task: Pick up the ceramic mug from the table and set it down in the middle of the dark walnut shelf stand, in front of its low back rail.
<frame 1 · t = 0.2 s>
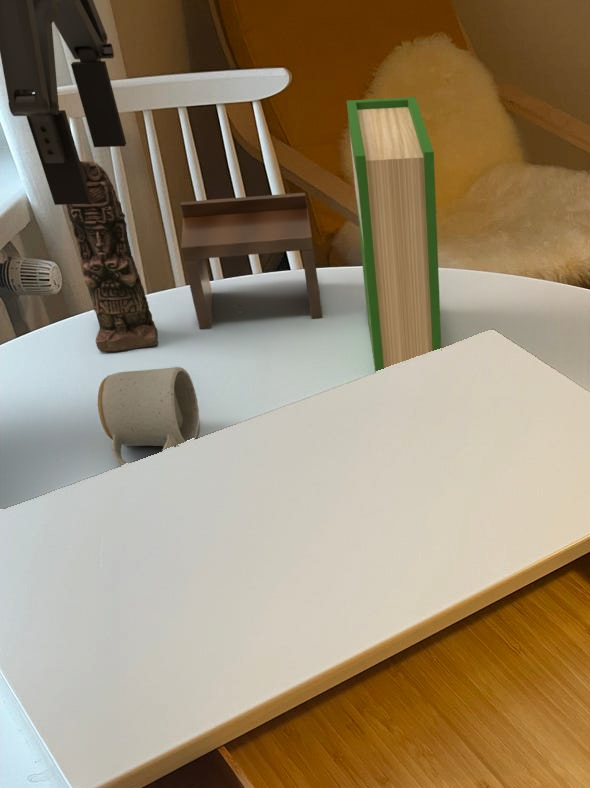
hand: (93, 172, 79), 26 cm above the table, tool pointing down, fingers open, 13 cm apart
shelf: (260, 305, 119), on the table
hardback book: (403, 346, 112), on the table
ceramic mug: (158, 448, 97), on the table
statue: (129, 338, 114), on the table
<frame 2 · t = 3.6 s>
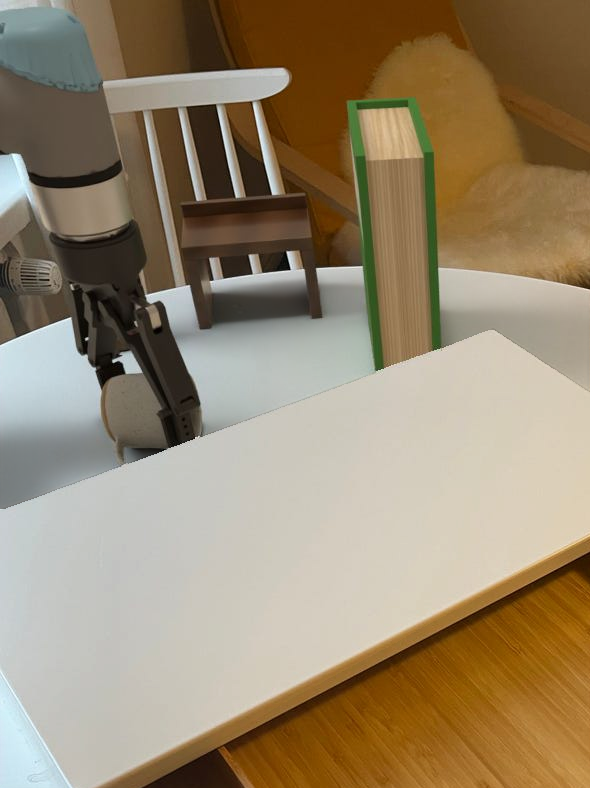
hand: (156, 442, 97), 0 cm above the table, tool pointing down, fingers closed on ceramic mug, 10 cm apart
ceramic mug: (161, 451, 97), on the table, touching gripper
everything else where it was.
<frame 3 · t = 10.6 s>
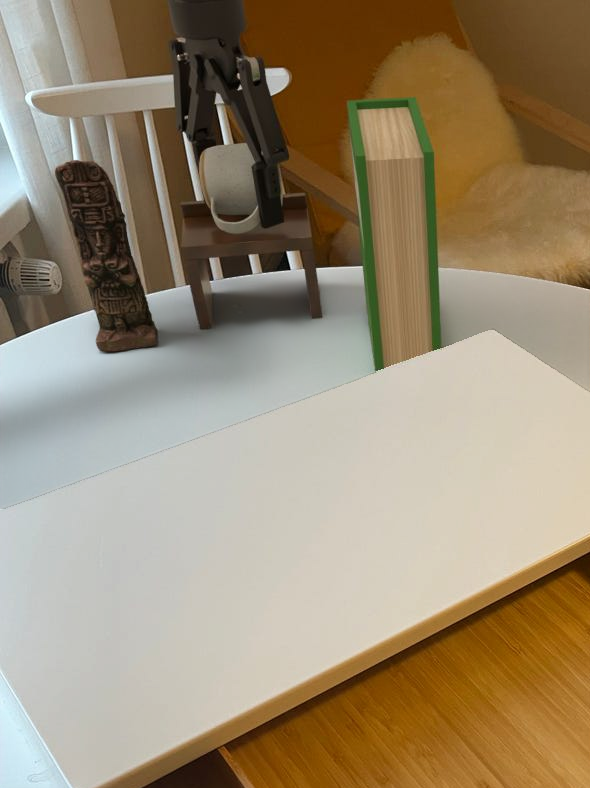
hand: (243, 212, 111), 12 cm above the table, tool pointing down, fingers closed on ceramic mug, 10 cm apart
ceramic mug: (248, 219, 111), point 11 cm above the table, touching gripper
everything else where it was.
when the fingers open (12 cm above the table, at t = 11.9 s): ceramic mug stays where it is, resting on shelf.
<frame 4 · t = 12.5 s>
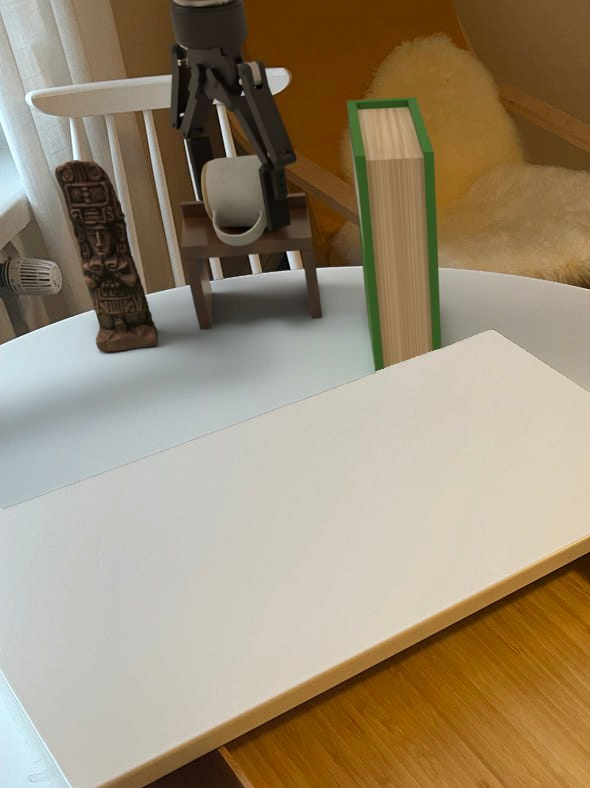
hand: (243, 212, 111), 12 cm above the table, tool pointing down, fingers open, 13 cm apart
ceramic mug: (249, 230, 112), point 10 cm above the table, touching shelf
everything else where it was.
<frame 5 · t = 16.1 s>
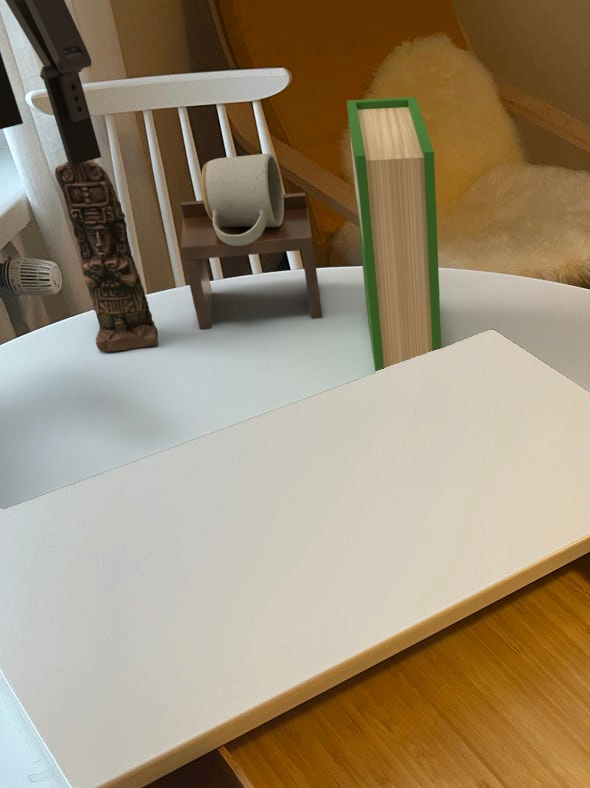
hand: (45, 143, 83), 27 cm above the table, tool pointing down, fingers open, 13 cm apart
nothing on the table moved.
at the end: ceramic mug inside the target area on the shelf (1.3 cm from its centre), point 9.8 cm above the shelf's base; ceramic mug tilted 0°; the gripper is holding nothing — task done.
